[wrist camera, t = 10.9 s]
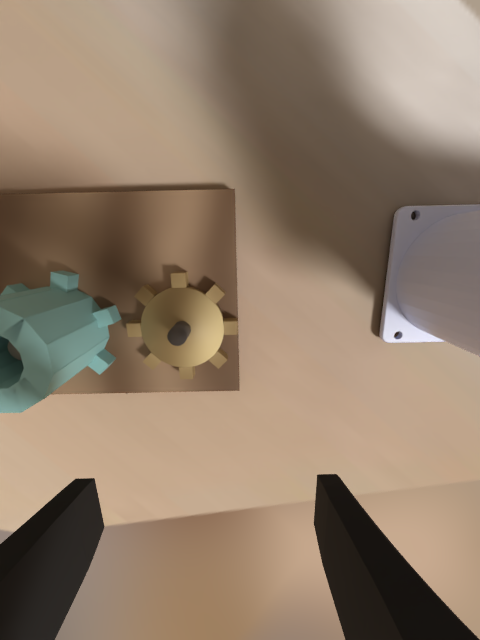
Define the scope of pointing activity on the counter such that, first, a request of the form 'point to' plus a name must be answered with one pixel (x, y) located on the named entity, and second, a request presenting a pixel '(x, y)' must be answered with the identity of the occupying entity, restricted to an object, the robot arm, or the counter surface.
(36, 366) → the gear
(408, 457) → the counter surface
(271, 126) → the counter surface
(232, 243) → the gear board
